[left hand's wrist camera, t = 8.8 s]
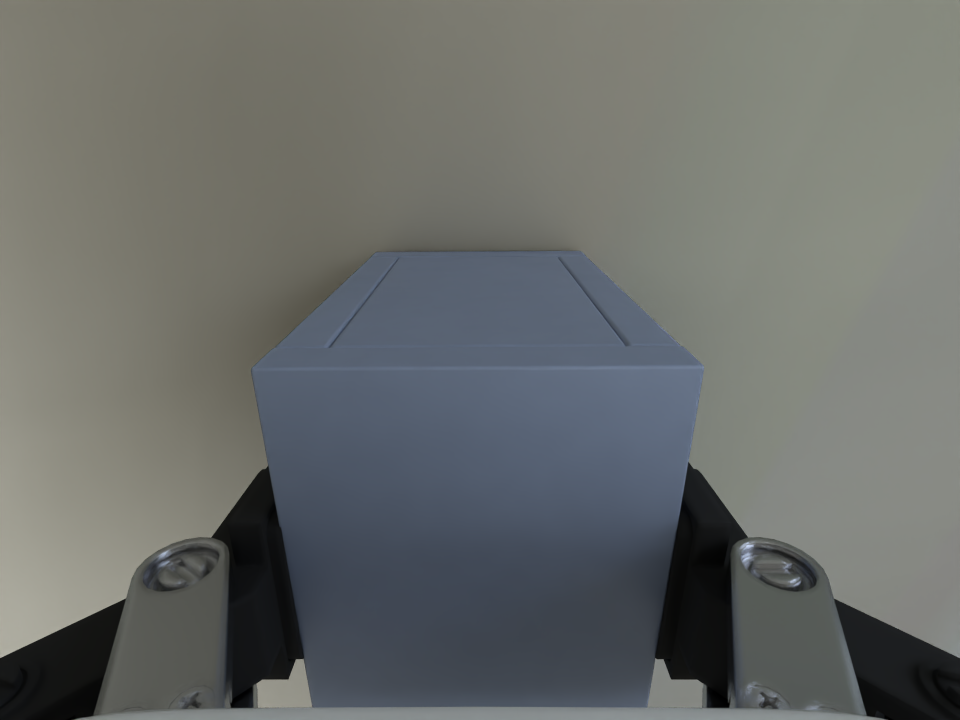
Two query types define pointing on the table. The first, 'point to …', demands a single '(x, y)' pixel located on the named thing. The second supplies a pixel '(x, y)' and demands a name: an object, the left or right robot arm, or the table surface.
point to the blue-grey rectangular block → (478, 481)
